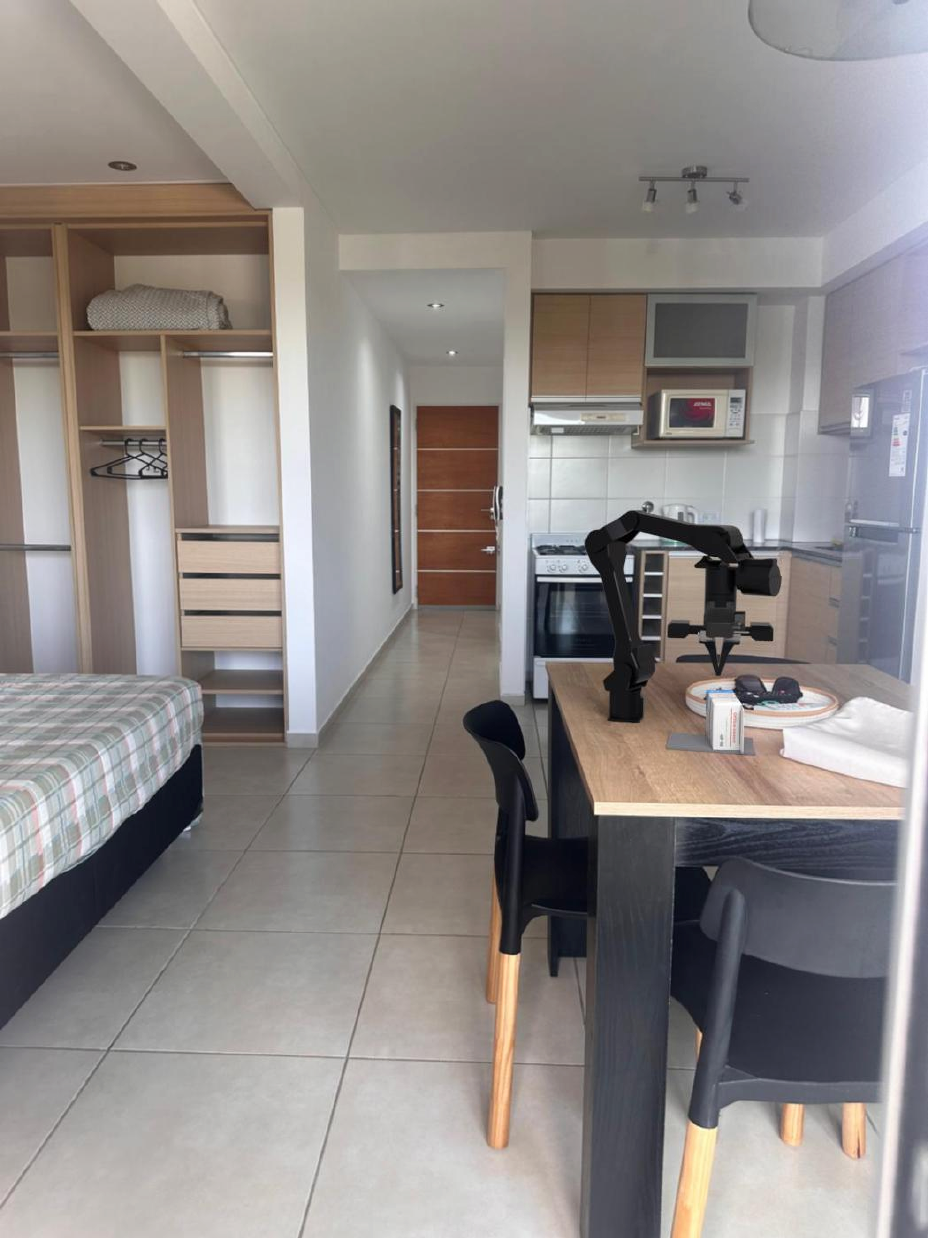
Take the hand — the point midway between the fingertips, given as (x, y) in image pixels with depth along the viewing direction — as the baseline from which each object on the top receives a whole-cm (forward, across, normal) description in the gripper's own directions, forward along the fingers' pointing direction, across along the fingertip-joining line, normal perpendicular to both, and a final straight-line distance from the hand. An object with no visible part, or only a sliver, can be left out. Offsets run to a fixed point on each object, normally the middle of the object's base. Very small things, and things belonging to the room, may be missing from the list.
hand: (718, 675), depth 156 cm
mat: (+12, -1, -7) cm, 13 cm away
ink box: (+7, 0, 0) cm, 7 cm away
